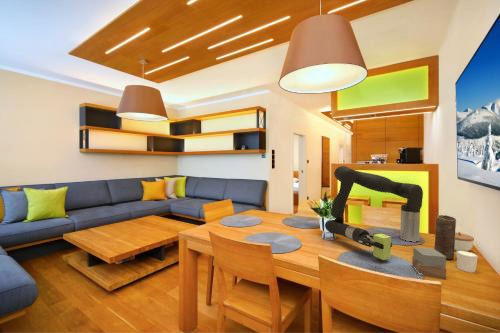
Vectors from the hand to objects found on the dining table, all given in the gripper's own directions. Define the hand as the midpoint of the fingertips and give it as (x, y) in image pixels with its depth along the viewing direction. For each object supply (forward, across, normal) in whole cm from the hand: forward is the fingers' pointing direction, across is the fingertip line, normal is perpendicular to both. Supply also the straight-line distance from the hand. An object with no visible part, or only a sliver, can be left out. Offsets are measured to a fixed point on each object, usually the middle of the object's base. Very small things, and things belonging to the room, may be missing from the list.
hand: (387, 246), depth 103 cm
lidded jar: (+4, +49, +9) cm, 50 cm away
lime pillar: (-3, 0, +6) cm, 7 cm away
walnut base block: (+12, +9, +8) cm, 17 cm away
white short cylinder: (+17, +27, +8) cm, 33 cm away
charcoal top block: (+12, +9, +4) cm, 16 cm away
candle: (+6, +32, +8) cm, 33 cm away
